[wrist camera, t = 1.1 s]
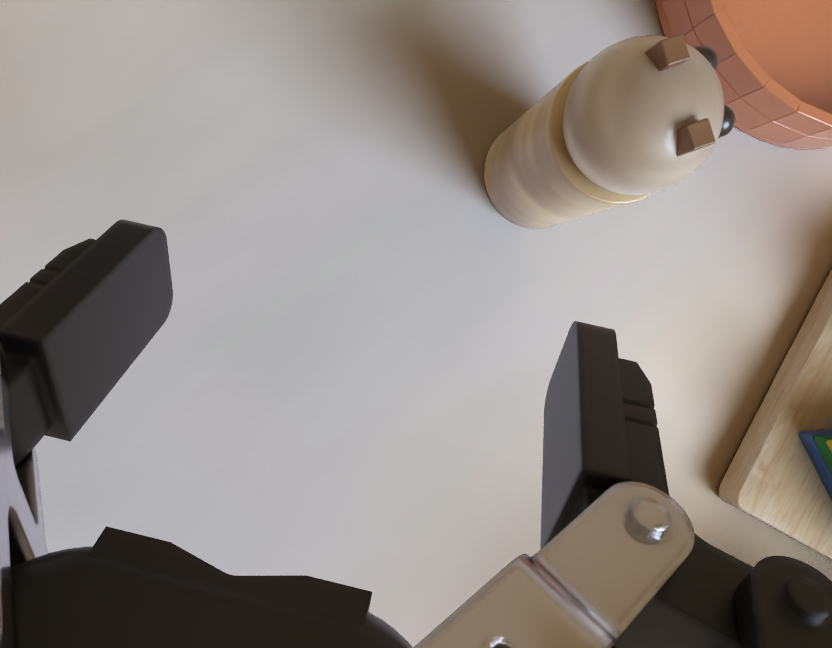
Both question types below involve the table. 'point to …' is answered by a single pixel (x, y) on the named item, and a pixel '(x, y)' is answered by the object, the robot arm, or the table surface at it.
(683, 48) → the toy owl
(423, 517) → the table surface
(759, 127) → the pan
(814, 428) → the shape sorter
